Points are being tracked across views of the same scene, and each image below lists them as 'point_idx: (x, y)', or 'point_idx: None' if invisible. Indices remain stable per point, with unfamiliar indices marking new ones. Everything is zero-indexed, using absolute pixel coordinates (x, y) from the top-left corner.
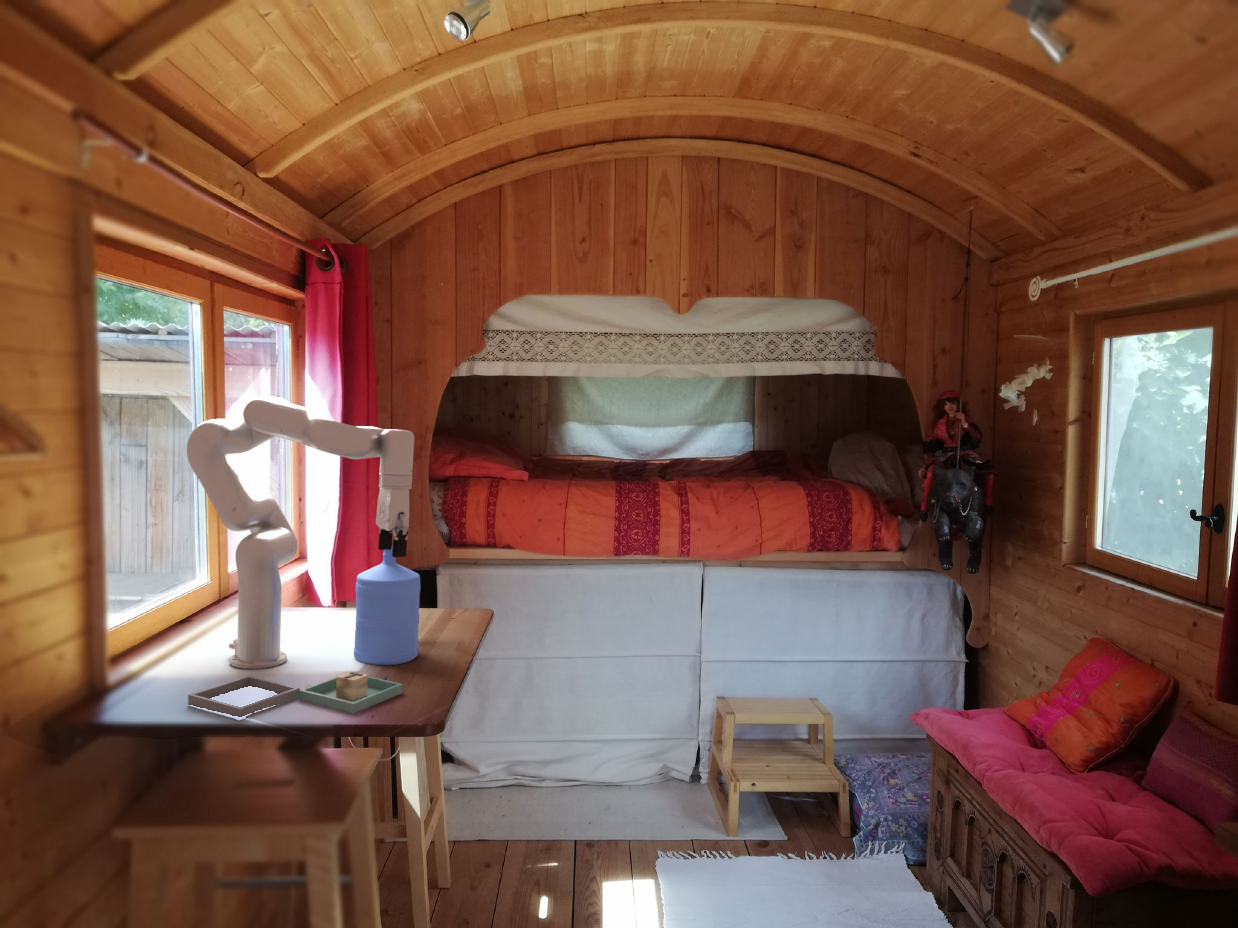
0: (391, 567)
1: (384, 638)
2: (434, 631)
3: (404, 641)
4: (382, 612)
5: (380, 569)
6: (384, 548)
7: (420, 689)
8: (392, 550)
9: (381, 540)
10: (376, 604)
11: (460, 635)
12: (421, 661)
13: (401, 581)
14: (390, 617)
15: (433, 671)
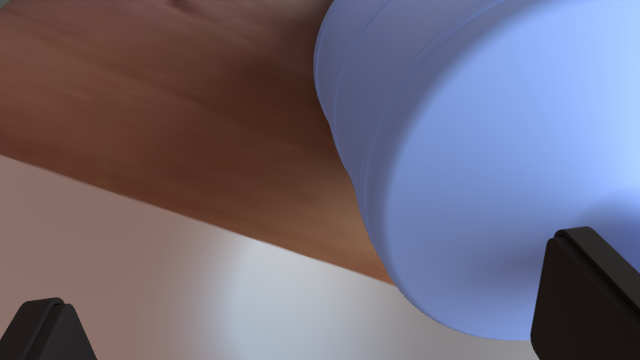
0: (541, 237)
1: (332, 51)
2: None
3: (329, 122)
4: (358, 70)
5: (563, 159)
6: (546, 289)
7: (43, 84)
8: (6, 357)
9: (620, 334)
10: (383, 50)
11: None
12: (326, 150)
13: (379, 234)
14: (341, 99)
15: (217, 159)
